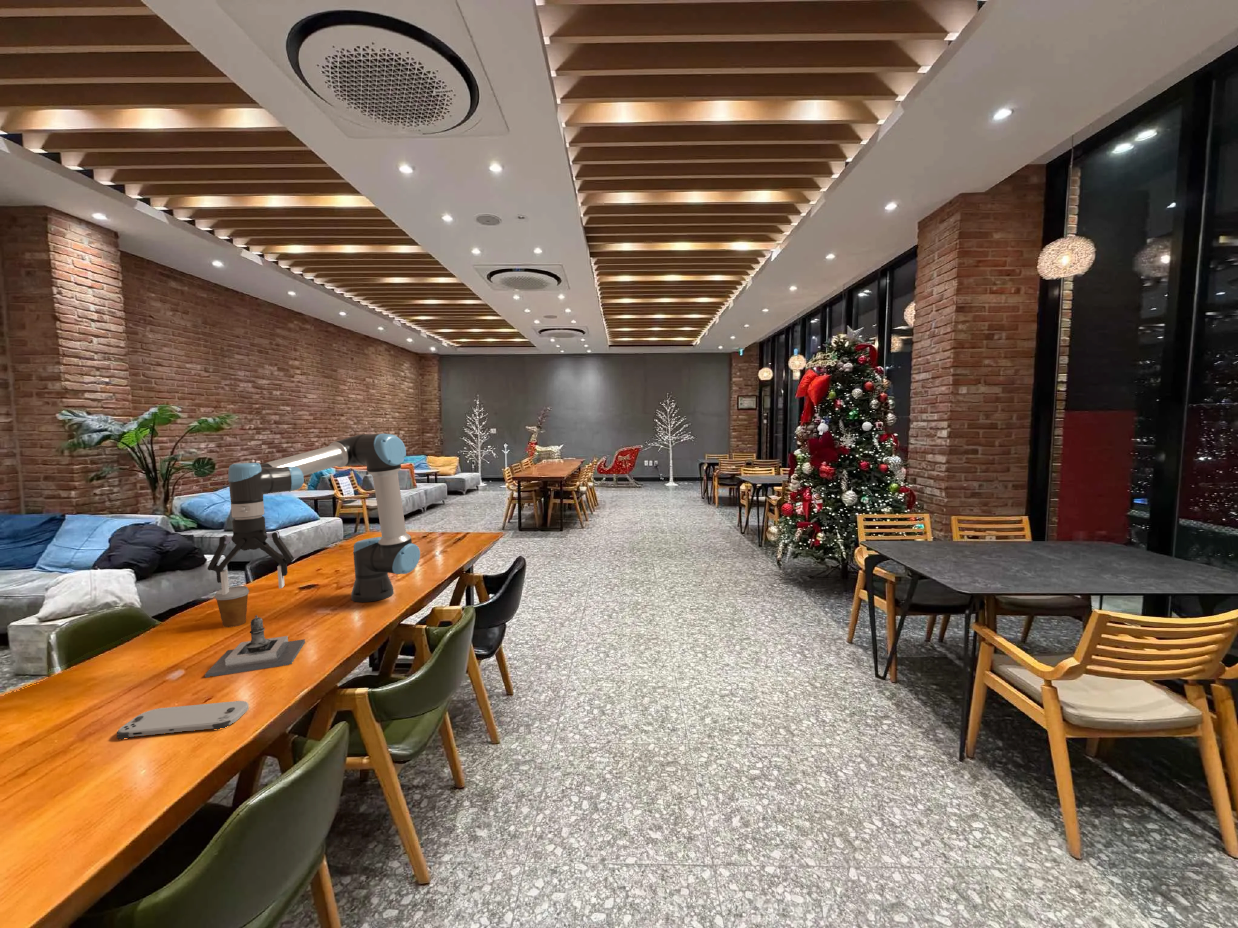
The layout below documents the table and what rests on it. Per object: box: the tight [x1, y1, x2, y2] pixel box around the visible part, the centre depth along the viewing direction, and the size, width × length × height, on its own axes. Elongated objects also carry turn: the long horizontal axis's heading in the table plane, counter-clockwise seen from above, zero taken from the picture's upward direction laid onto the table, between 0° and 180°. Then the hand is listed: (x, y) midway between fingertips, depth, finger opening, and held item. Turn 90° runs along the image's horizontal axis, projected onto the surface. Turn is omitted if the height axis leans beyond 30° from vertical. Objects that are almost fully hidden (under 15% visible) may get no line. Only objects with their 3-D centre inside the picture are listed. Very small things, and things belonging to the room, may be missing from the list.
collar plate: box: [204, 635, 306, 679], centre depth 146 cm, size 20×16×4 cm
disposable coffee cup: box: [214, 585, 250, 628], centre depth 174 cm, size 10×10×12 cm
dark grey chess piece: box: [246, 614, 271, 653], centre depth 146 cm, size 6×6×12 cm
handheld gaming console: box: [116, 700, 250, 740], centre depth 115 cm, size 23×3×10 cm
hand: (254, 590), depth 145 cm, fingers open, 13 cm apart
